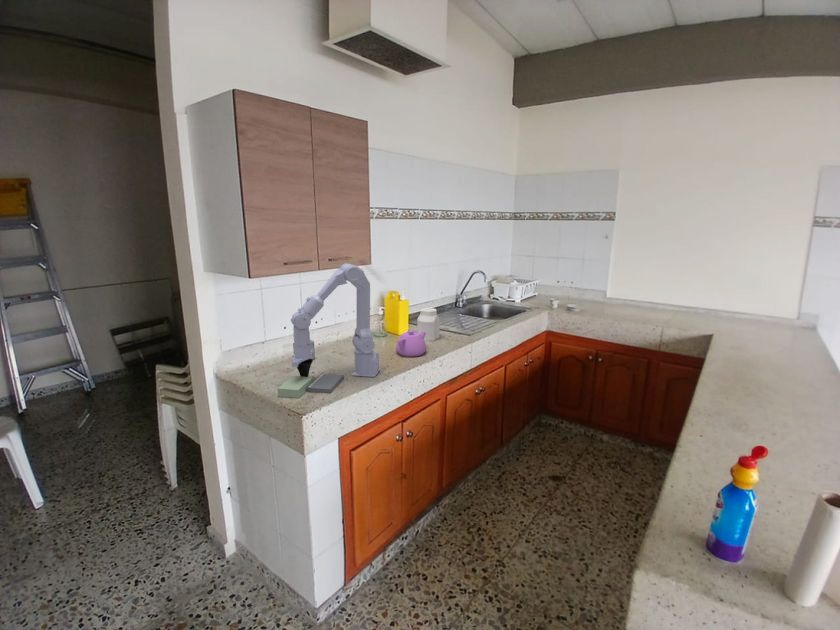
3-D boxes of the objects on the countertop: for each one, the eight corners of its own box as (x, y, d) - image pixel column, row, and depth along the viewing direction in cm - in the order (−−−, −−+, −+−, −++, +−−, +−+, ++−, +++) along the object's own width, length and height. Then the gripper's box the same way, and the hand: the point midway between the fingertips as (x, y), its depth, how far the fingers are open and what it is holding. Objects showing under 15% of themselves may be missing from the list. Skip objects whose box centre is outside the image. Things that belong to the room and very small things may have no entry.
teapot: (436, 349, 198) (436, 327, 195) (411, 361, 182) (411, 337, 179) (412, 344, 206) (412, 323, 203) (386, 355, 190) (386, 332, 187)
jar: (431, 342, 209) (431, 313, 205) (414, 339, 213) (414, 310, 210) (441, 336, 219) (442, 308, 215) (425, 334, 223) (425, 306, 220)
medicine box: (309, 357, 187) (308, 338, 185) (315, 359, 184) (314, 340, 182) (294, 362, 181) (292, 342, 179) (300, 364, 178) (298, 344, 176)
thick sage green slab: (313, 384, 157) (312, 377, 156) (298, 398, 145) (298, 390, 145) (293, 383, 158) (293, 375, 157) (278, 396, 146) (277, 388, 146)
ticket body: (344, 378, 162) (343, 374, 162) (330, 393, 149) (330, 389, 149) (322, 377, 164) (321, 373, 164) (306, 391, 151) (306, 387, 150)
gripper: (300, 338, 162) (303, 371, 165) (282, 349, 148) (285, 385, 152) (318, 339, 161) (320, 372, 164) (301, 350, 147) (303, 386, 150)
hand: (304, 378), depth 158 cm, fingers closed
